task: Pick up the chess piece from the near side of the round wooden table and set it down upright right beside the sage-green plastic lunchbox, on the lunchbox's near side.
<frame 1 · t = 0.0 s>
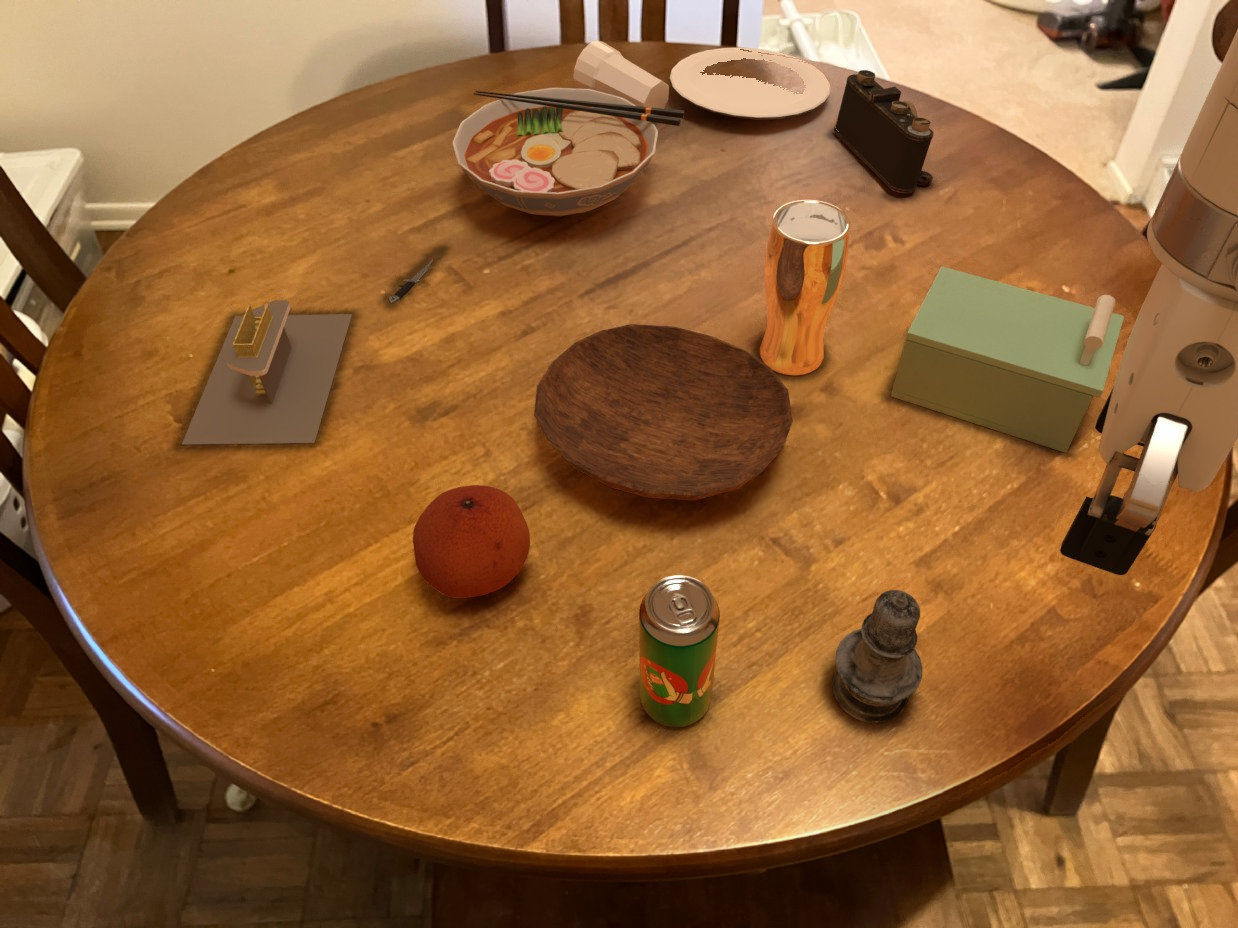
hand: (1108, 495, 52), 22 cm above the table, tool pointing down, fingers open, 9 cm apart
soda can: (675, 699, 69), on the table
bowl: (661, 443, 86), on the table
plate: (748, 93, 127), point 1 cm above the table
knife: (416, 278, 103), on the table
camera: (881, 160, 116), on the table
chess piece: (869, 690, 69), on the table
lunchbox lid: (1020, 313, 83), point 9 cm above the table, hinge at 0.0°
fruit: (476, 569, 77), on the table
platform: (272, 376, 93), on the table
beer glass: (791, 356, 93), on the table
ramen bowl: (559, 196, 112), on the table
cup: (657, 102, 121), point 3 cm above the table
lunchbox: (990, 387, 89), on the table
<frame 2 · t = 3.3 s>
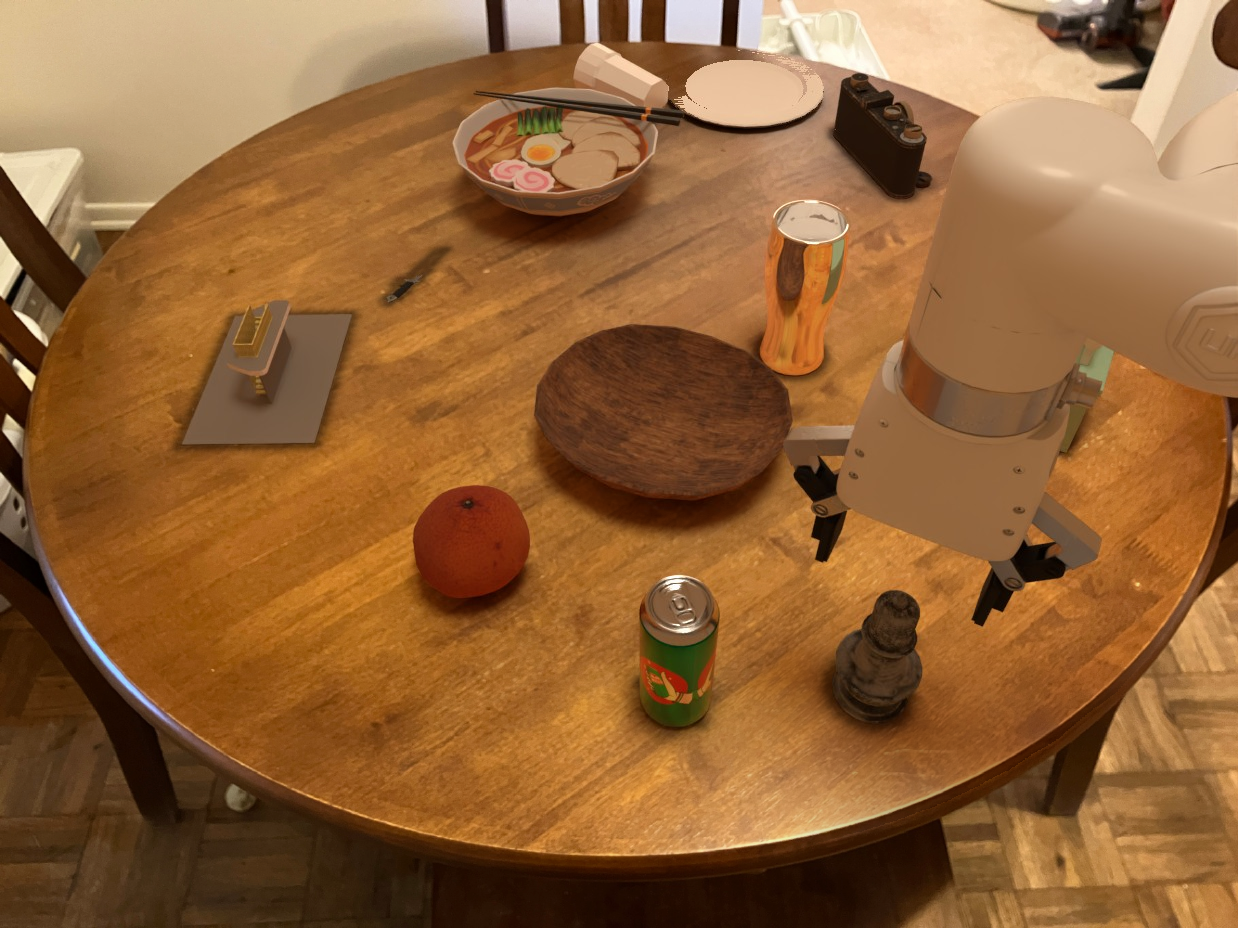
hand: (903, 575, 59), 14 cm above the table, tool pointing down, fingers open, 9 cm apart
plate: (743, 98, 128), on the table
cup: (657, 101, 121), point 3 cm above the table
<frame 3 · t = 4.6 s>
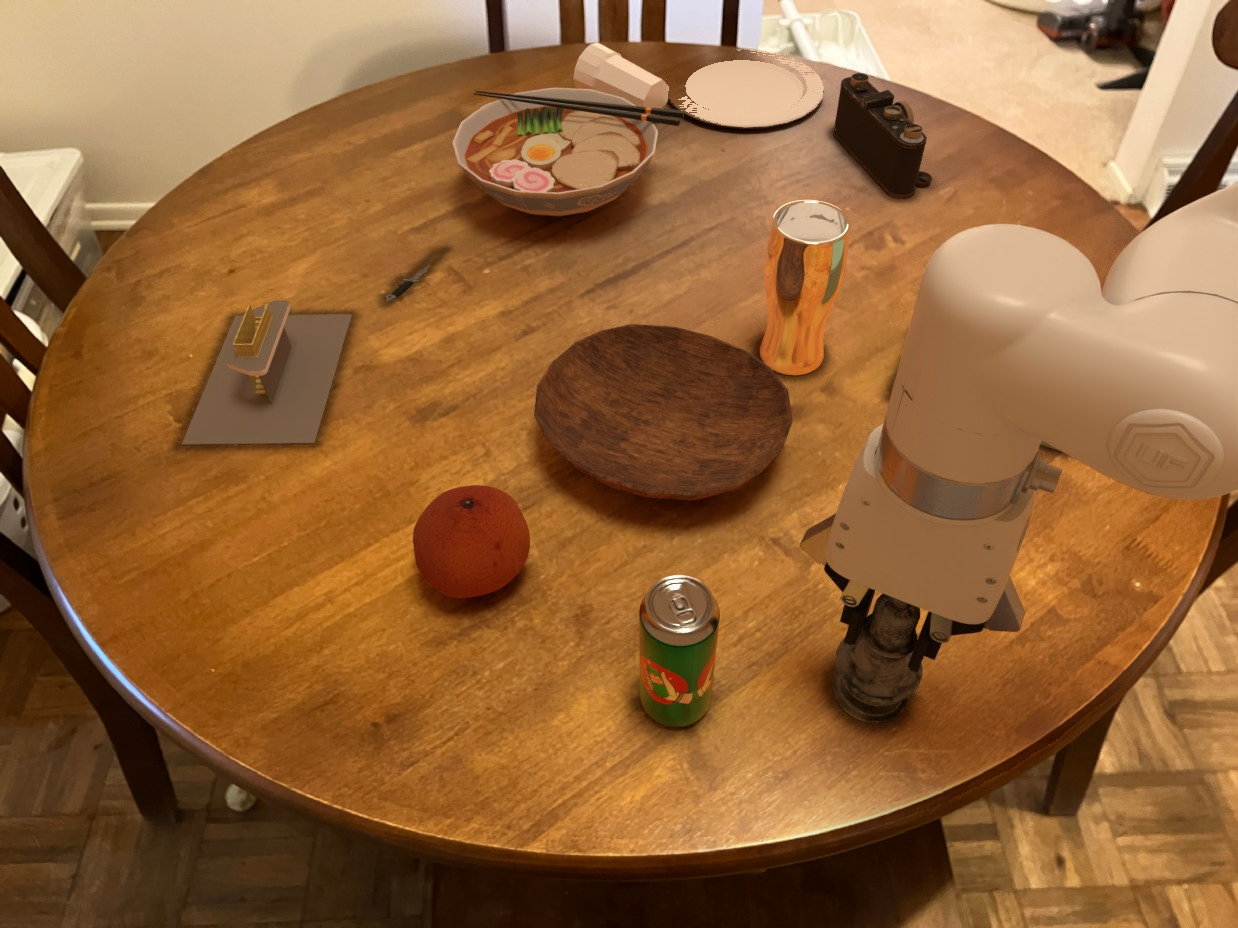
hand: (887, 639, 64), 7 cm above the table, tool pointing down, fingers closed on chess piece, 3 cm apart
chess piece: (869, 690, 69), on the table, touching gripper
everything else where it was.
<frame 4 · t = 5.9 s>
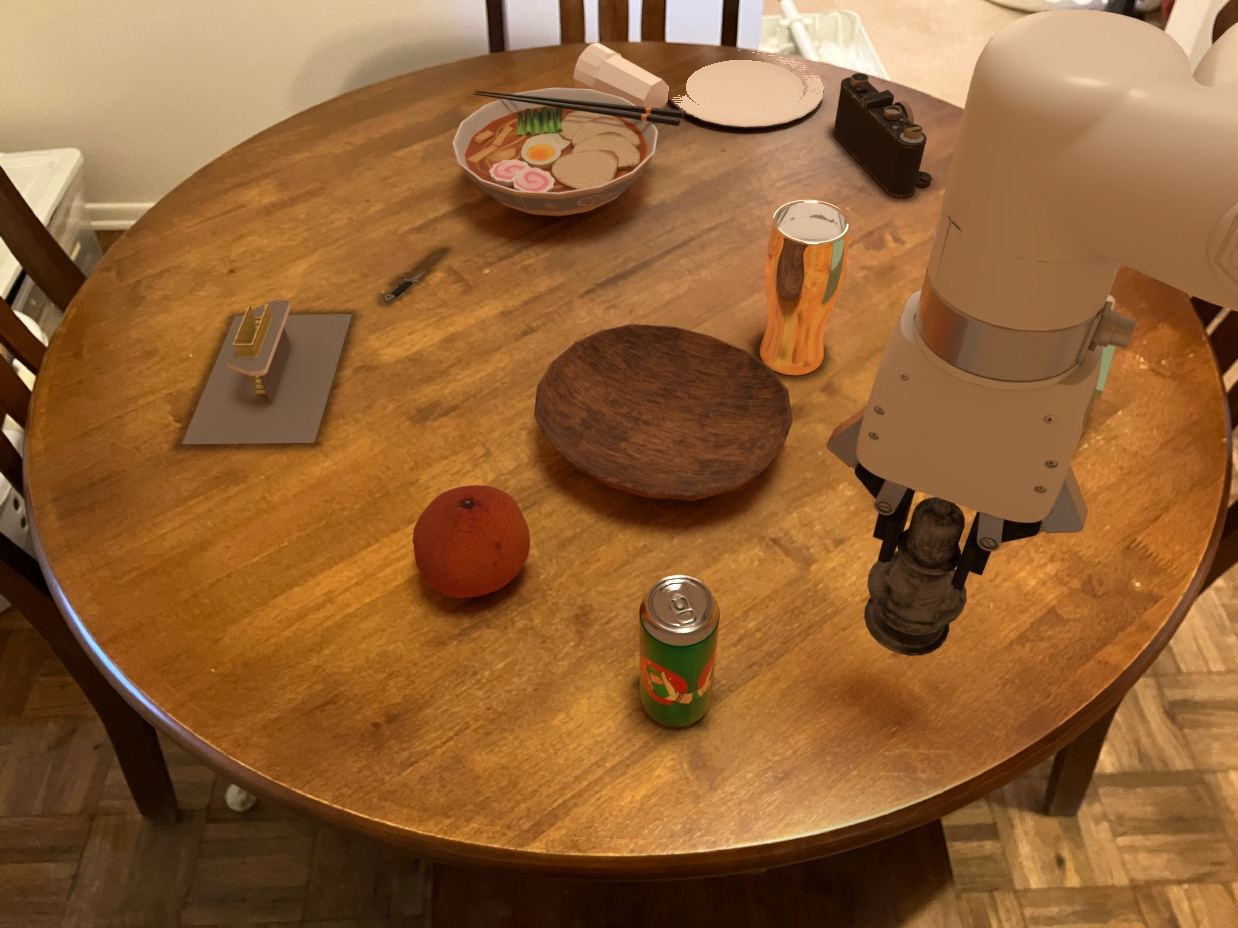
hand: (926, 556, 57), 16 cm above the table, tool pointing down, fingers closed on chess piece, 3 cm apart
chess piece: (905, 621, 62), point 9 cm above the table, touching gripper
everything else where it was.
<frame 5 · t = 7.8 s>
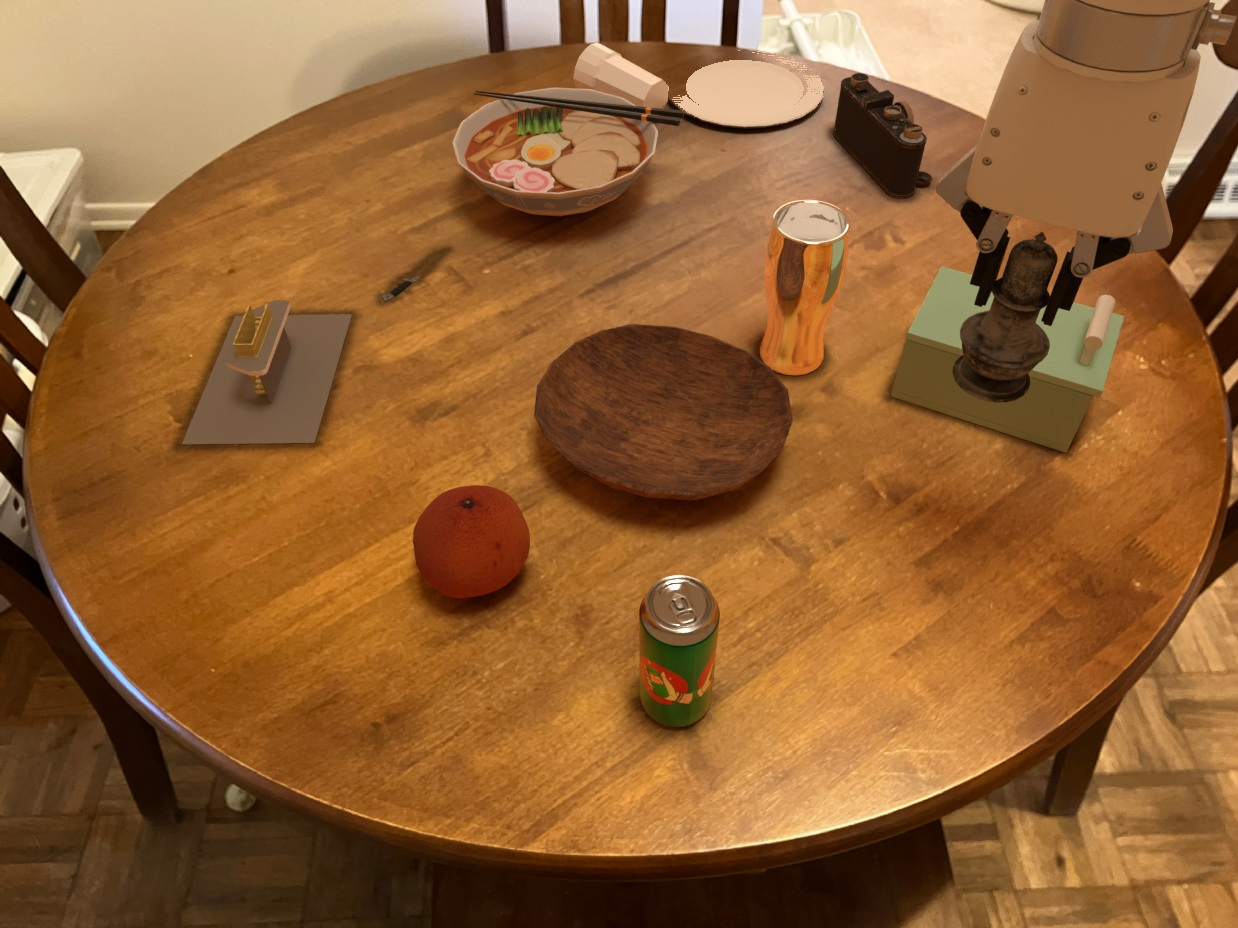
hand: (1017, 301, 63), 22 cm above the table, tool pointing down, fingers closed on chess piece, 3 cm apart
chess piece: (990, 378, 68), point 15 cm above the table, touching gripper
everything else where it was.
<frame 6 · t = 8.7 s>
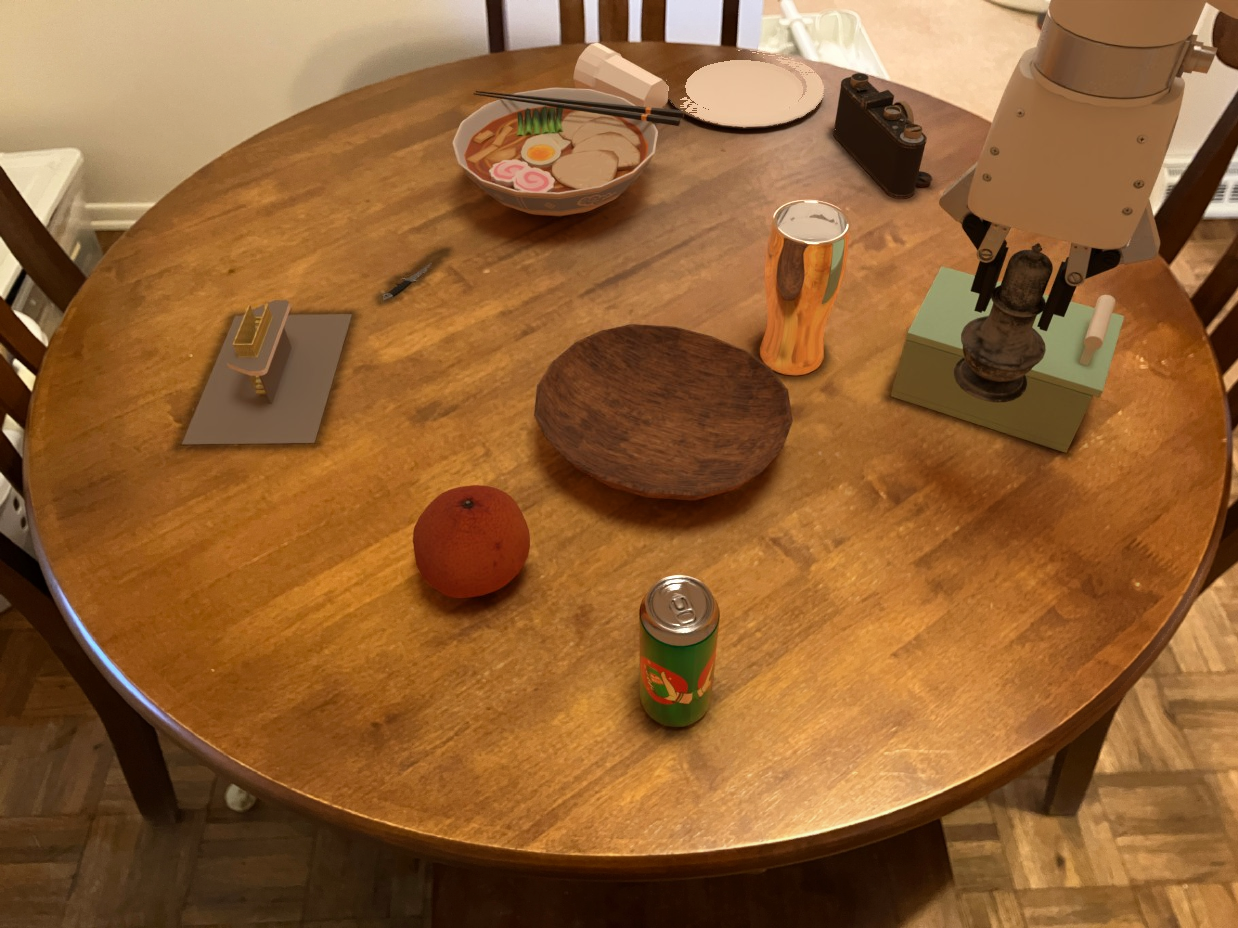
hand: (1015, 307, 67), 19 cm above the table, tool pointing down, fingers closed on chess piece, 3 cm apart
chess piece: (989, 379, 73), point 12 cm above the table, touching gripper
everything else where it was.
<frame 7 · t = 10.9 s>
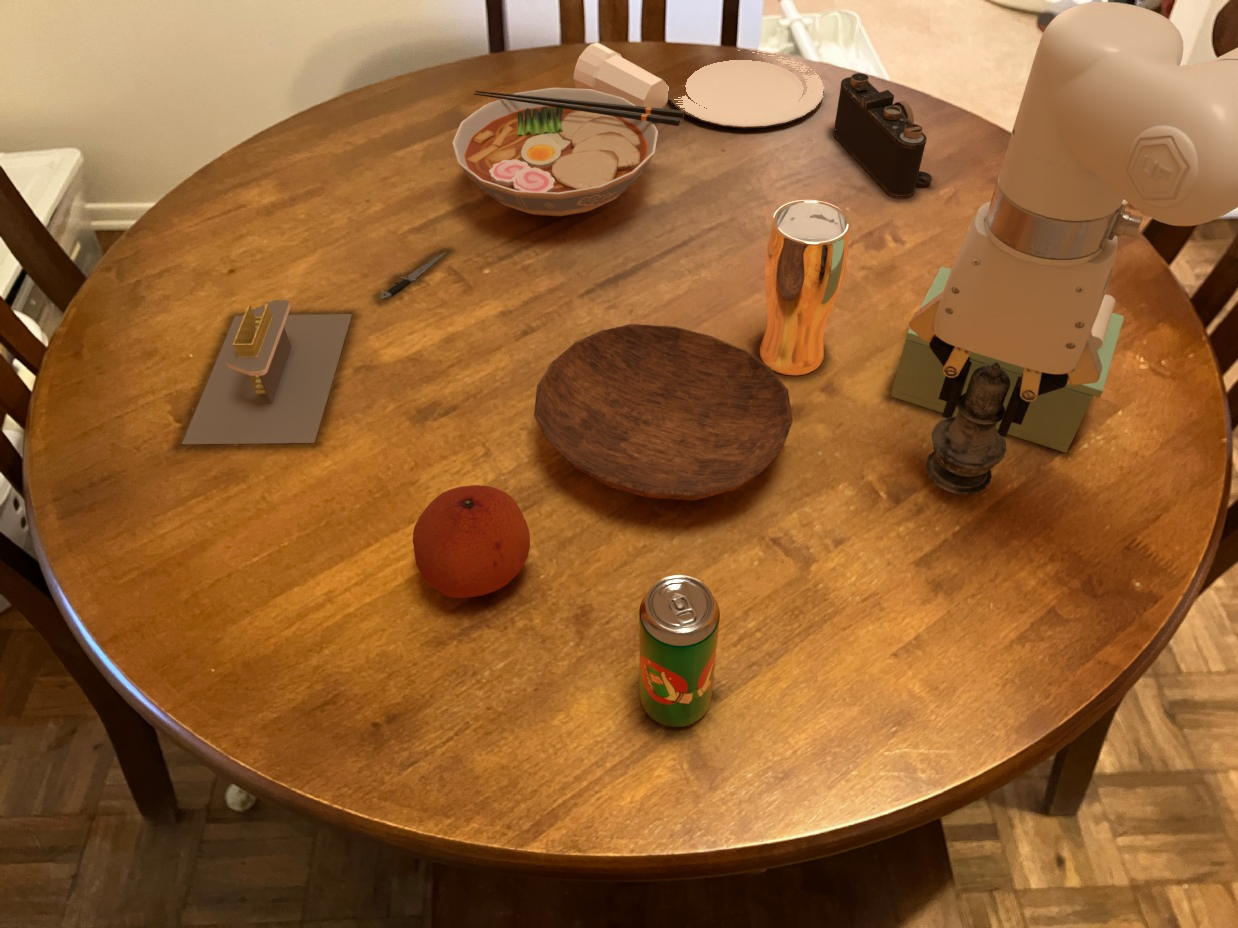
hand: (978, 413, 76), 8 cm above the table, tool pointing down, fingers closed on chess piece, 3 cm apart
chess piece: (957, 472, 81), point 1 cm above the table, touching gripper
everything else where it was.
when the fingers open (7 cm above the table, at t = 11.7 s): chess piece stays where it is, on the table.
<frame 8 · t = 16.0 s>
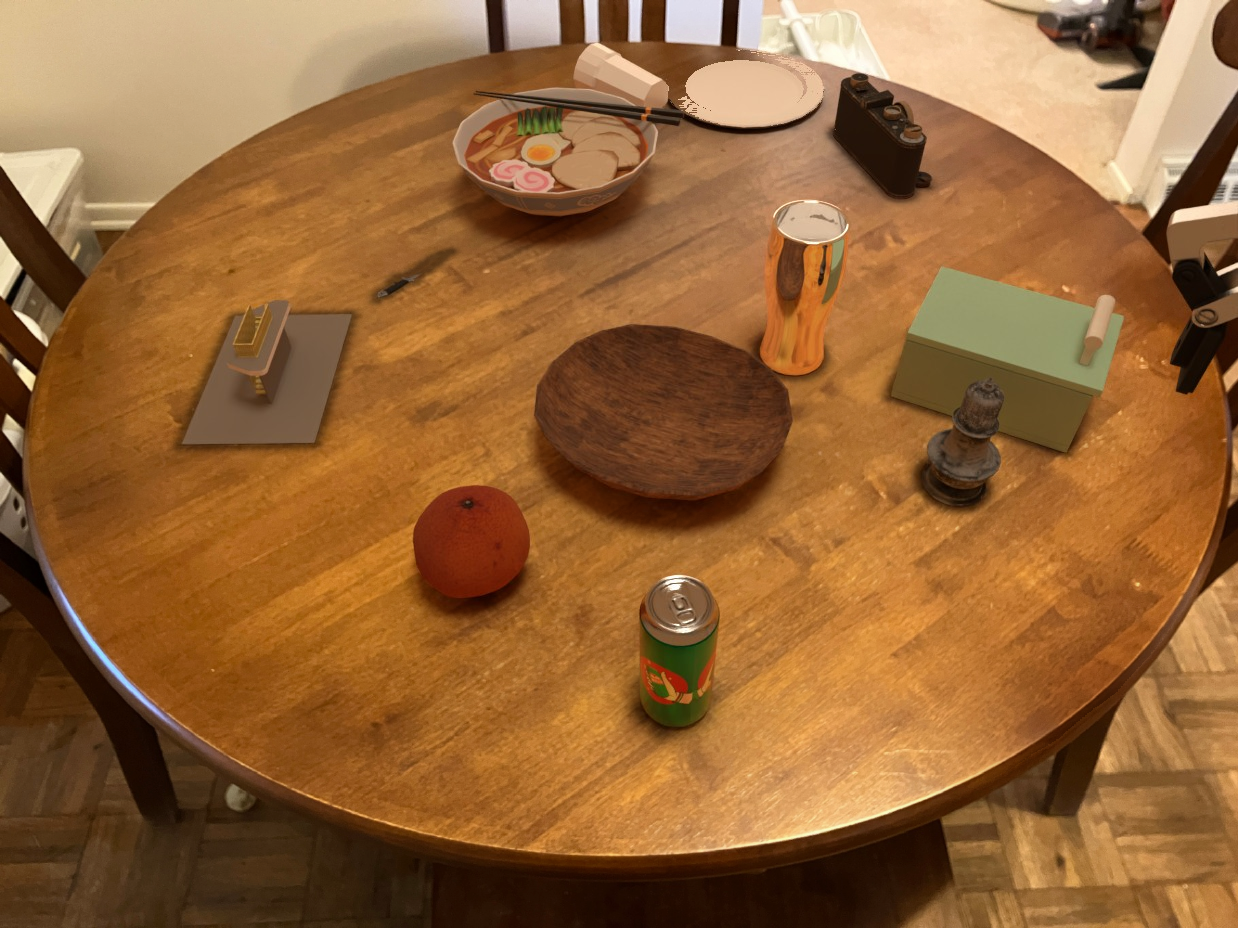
chess piece: (952, 484, 82), on the table
at the end: chess piece inside the target area on the table beside the lunchbox (0.8 cm from its centre), on the table; chess piece tilted 0°; the gripper is holding nothing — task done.
